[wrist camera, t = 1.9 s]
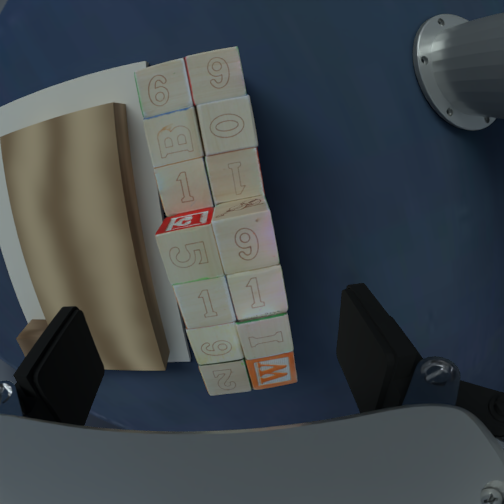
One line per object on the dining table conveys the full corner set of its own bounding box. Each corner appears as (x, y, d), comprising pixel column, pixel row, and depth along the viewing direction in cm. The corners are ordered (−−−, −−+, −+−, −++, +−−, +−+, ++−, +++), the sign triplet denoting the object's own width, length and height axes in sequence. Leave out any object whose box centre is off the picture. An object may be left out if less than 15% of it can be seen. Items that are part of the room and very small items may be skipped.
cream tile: (148, 62, 22) (145, 60, 22) (191, 356, 34) (190, 361, 33) (-18, 117, 22) (-22, 117, 21) (46, 354, 33) (44, 357, 33)
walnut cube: (56, 319, 31) (41, 340, 27) (68, 347, 32) (55, 368, 28) (31, 319, 30) (16, 338, 27) (43, 345, 32) (30, 366, 28)
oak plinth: (125, 104, 23) (112, 102, 20) (169, 351, 33) (165, 370, 30) (18, 134, 23) (-1, 137, 20) (76, 350, 32) (67, 367, 30)
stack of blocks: (165, 85, 23) (114, 59, 12) (239, 70, 23) (242, 28, 12) (215, 306, 32) (208, 399, 20) (277, 296, 32) (298, 386, 20)
